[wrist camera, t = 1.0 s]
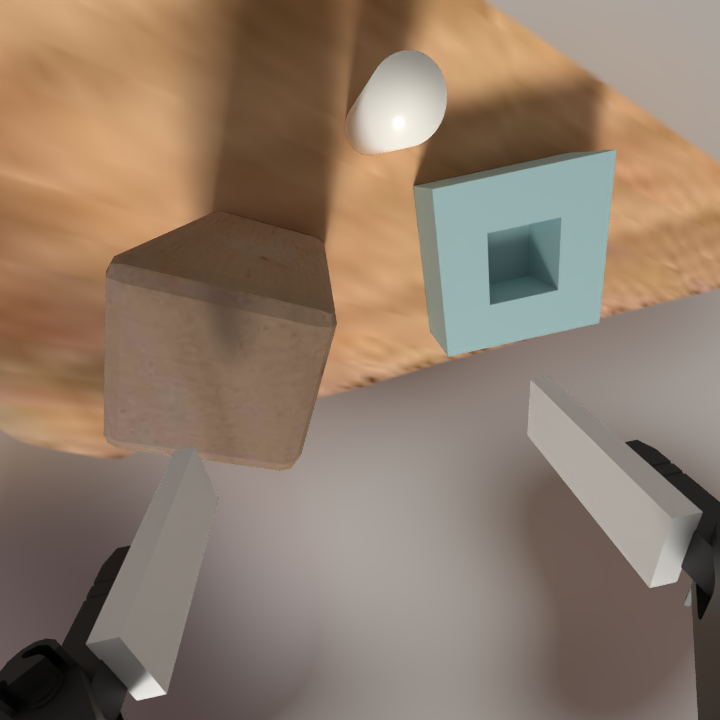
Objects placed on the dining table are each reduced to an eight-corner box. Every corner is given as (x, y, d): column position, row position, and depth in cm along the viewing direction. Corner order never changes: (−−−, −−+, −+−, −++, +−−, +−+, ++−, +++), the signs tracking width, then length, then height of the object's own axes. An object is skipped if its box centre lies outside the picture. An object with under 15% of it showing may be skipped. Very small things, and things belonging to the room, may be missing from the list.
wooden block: (327, 238, 35) (343, 310, 17) (303, 338, 39) (296, 480, 21) (212, 206, 33) (94, 252, 15) (199, 315, 37) (94, 453, 19)
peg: (340, 104, 31) (360, 59, 18) (389, 93, 31) (443, 41, 18) (350, 160, 32) (374, 154, 20) (397, 150, 32) (450, 138, 20)
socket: (413, 186, 34) (432, 189, 28) (568, 152, 34) (616, 149, 29) (430, 331, 40) (448, 356, 35) (560, 302, 40) (599, 322, 35)
